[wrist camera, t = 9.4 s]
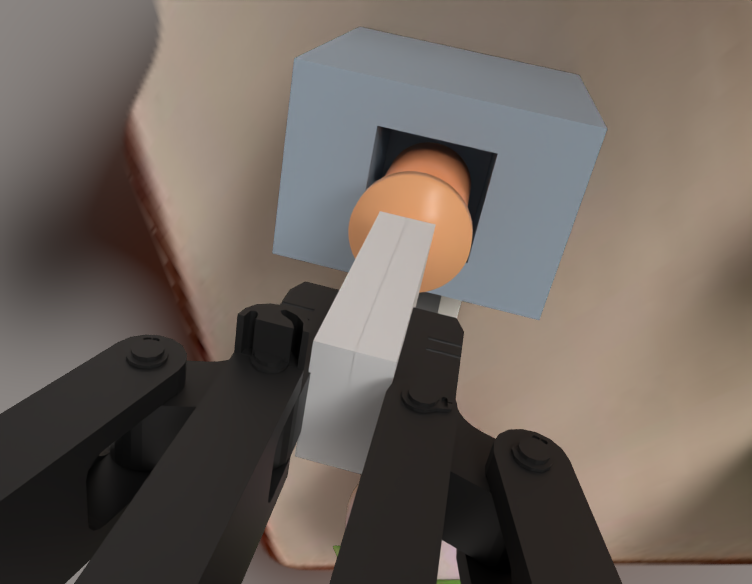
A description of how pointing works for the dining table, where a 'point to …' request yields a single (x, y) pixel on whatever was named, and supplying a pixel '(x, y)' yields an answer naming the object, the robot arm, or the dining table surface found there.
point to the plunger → (423, 206)
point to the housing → (447, 127)
